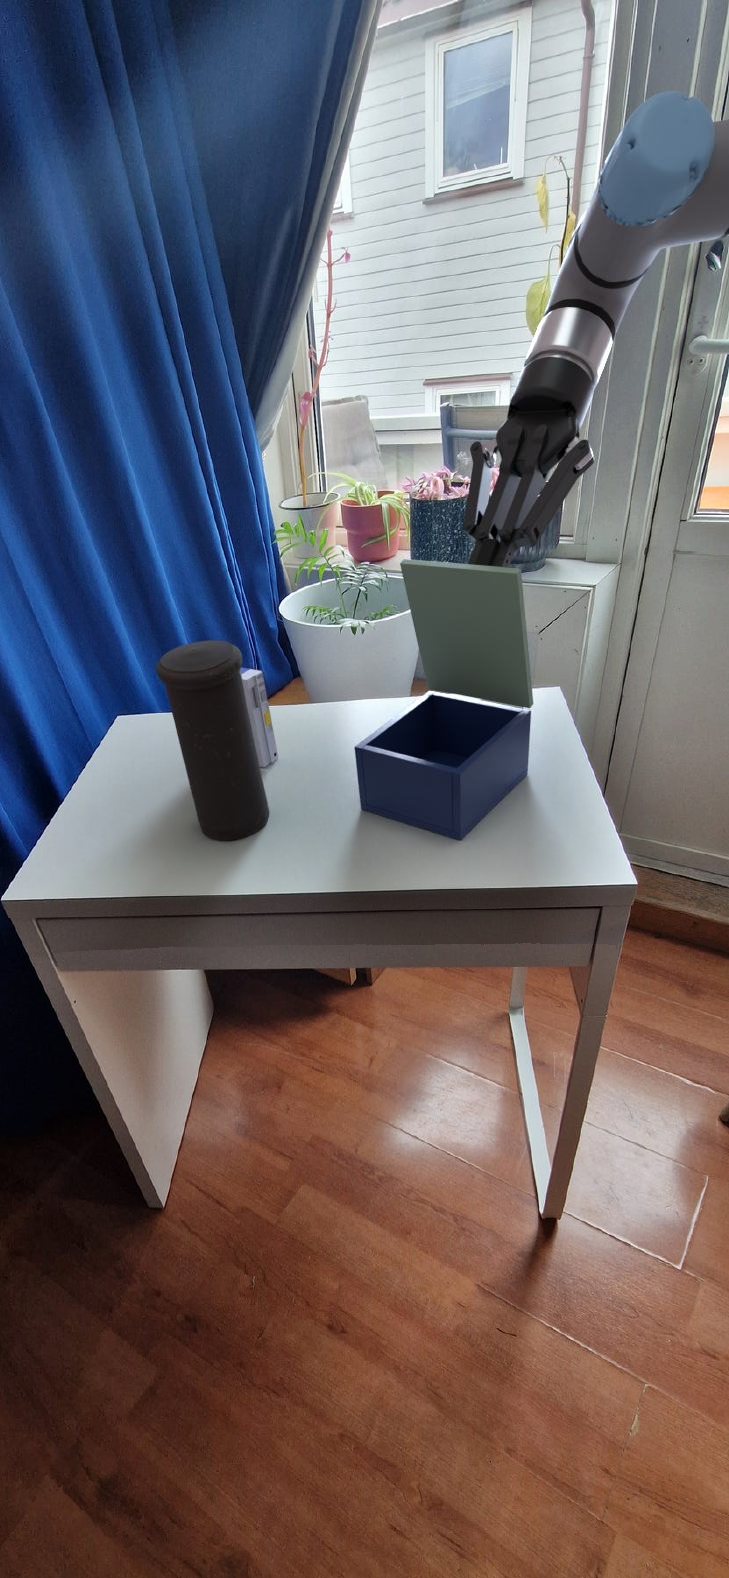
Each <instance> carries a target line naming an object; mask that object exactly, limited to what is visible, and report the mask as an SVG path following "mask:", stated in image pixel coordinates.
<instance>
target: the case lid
mask: <svg viewBox="0 0 729 1578" xmlns="http://www.w3.org/2000/svg"><path fill="white" fill-rule="evenodd" d="M399 564H400V566H399V567H400V570H401V574H402V579H403V583H404V584H403V585H404V587H405V592H406V597H407V601H408V606H409V610H410V615H411V619H412V624H413V628H414V632H415V637H416V642H417V645H418V646H417V647H418V651H419V656H420V660H421V665H422V670H423V673H424V678H425V683H426V687H427V689H428V690H431V691H436V692H441V693H442V692H443V693H446V694H451V695H457V696H462V697H467V698H472V699H477V700H483V701H488V702H493V703H498V704H503V705H509V706H514V707H519V708H524V709H531V708H532V706H534V695H533V686H532V684H533V683H532V675H531V673H532V672H531V664H530V652H529V640H528V630H527V618H526V607H525V598H524V587H523V576H522V568H520V567H519V568H518V567H508V568H507V567H495V566H483V565H471V564H468V563H460V562H459V563H455V562H447V561H446V562H445V561H435V560H433V561H432V560H423V559H422V560H421V559H420V560H419V559H408V558H403V559H402V560H401V562H400V563H399Z"/></svg>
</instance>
